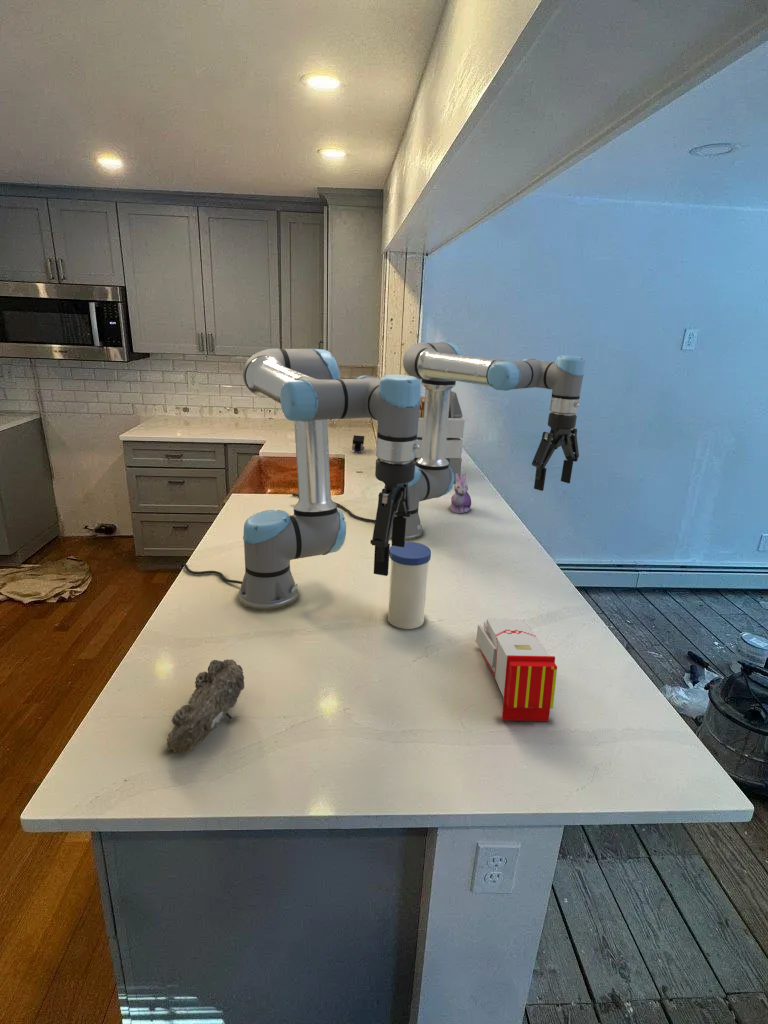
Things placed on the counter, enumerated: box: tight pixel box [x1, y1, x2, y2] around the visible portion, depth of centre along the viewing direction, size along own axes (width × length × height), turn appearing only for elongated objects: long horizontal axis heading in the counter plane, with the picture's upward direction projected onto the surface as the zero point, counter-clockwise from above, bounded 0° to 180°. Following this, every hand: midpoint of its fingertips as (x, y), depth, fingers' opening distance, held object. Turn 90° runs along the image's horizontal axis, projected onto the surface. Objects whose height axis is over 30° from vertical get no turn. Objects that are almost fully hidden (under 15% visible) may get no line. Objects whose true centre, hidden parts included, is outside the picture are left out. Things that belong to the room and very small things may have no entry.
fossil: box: [166, 658, 245, 754], centre depth 106 cm, size 22×10×15 cm
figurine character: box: [351, 435, 365, 454], centre depth 310 cm, size 7×8×15 cm
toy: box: [475, 618, 558, 722], centre depth 122 cm, size 12×13×30 cm
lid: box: [389, 541, 432, 565], centre depth 139 cm, size 10×10×2 cm
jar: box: [387, 559, 429, 630], centre depth 142 cm, size 9×9×19 cm
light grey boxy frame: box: [414, 390, 465, 484], centre depth 268 cm, size 34×33×41 cm
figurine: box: [449, 472, 472, 514], centre depth 224 cm, size 9×10×15 cm
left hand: (389, 559), depth 115 cm, fingers open, 13 cm apart
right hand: (552, 485), depth 166 cm, fingers open, 13 cm apart
